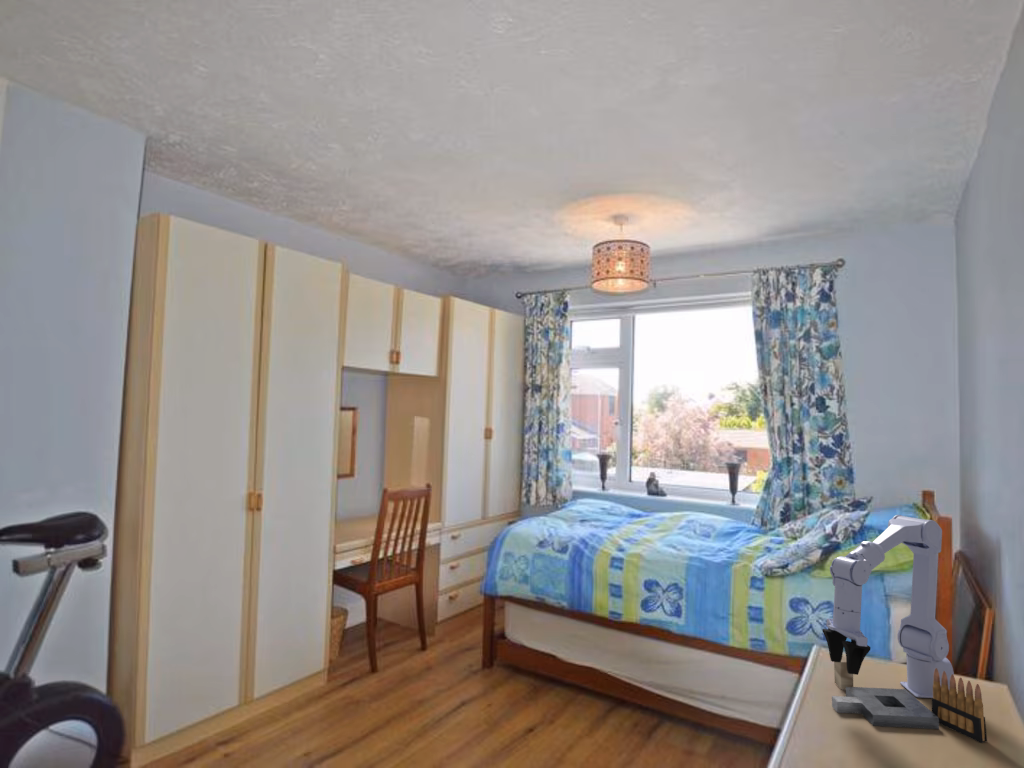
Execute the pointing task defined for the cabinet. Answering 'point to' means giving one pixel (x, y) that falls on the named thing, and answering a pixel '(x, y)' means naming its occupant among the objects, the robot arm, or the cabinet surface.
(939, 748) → the cabinet surface
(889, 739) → the cabinet surface
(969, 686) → the ammunition clip
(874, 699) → the steel bracket head
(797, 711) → the cabinet surface
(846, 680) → the oak wedge
